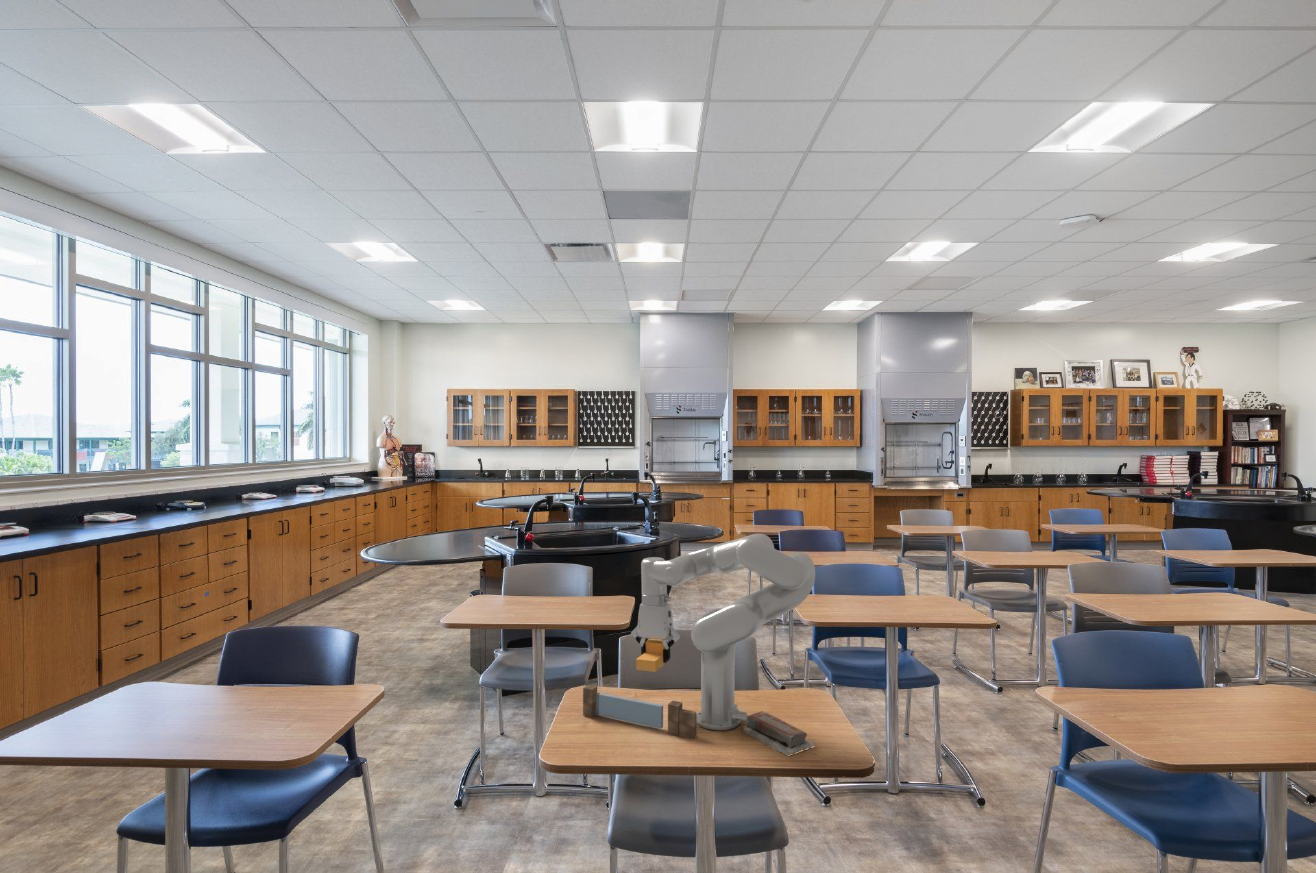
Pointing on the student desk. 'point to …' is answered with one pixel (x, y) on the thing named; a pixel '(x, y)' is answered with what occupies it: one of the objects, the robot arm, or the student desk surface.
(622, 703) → the gate door
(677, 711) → the wooden posts
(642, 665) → the orange stepped block
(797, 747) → the packaged product
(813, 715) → the student desk surface
